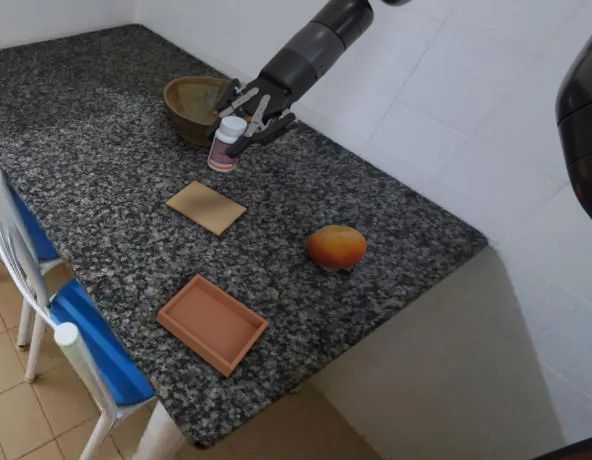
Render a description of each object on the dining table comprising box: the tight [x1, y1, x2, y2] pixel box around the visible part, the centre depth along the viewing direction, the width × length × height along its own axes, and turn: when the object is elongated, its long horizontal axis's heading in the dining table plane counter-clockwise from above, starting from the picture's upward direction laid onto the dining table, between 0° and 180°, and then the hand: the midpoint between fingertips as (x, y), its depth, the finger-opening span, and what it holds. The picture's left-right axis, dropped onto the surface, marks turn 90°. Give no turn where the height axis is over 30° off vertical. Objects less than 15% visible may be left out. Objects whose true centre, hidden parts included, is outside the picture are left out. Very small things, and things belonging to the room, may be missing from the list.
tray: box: [155, 273, 270, 378], centre depth 57 cm, size 12×10×2 cm
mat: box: [165, 180, 247, 237], centre depth 76 cm, size 12×10×1 cm
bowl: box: [162, 75, 252, 147], centre depth 90 cm, size 22×23×10 cm
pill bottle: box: [206, 116, 248, 173], centre depth 66 cm, size 5×5×8 cm
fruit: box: [306, 224, 368, 274], centre depth 65 cm, size 8×8×8 cm
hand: (218, 147), depth 65 cm, fingers closed on pill bottle, 4 cm apart
